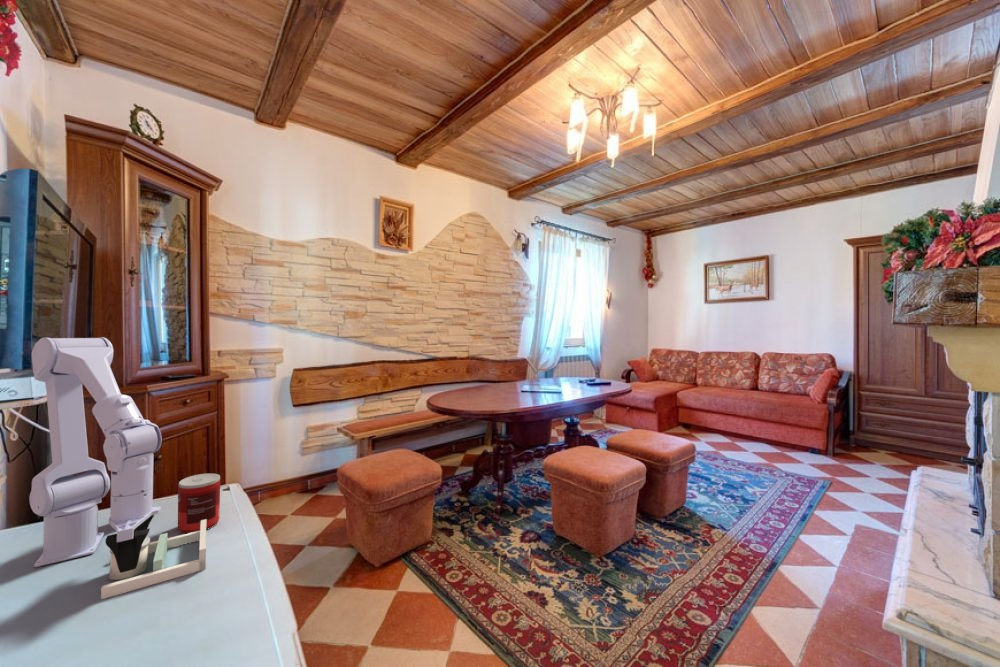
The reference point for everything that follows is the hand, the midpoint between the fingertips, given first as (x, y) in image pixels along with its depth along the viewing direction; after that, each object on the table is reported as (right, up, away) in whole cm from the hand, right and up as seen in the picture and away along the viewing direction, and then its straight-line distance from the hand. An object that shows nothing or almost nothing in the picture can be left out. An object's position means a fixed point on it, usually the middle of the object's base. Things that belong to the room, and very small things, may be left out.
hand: (131, 562), depth 71 cm
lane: (+3, -2, +3) cm, 5 cm away
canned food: (-1, -2, +17) cm, 17 cm away
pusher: (+3, -2, +3) cm, 5 cm away
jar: (0, -2, 0) cm, 2 cm away
